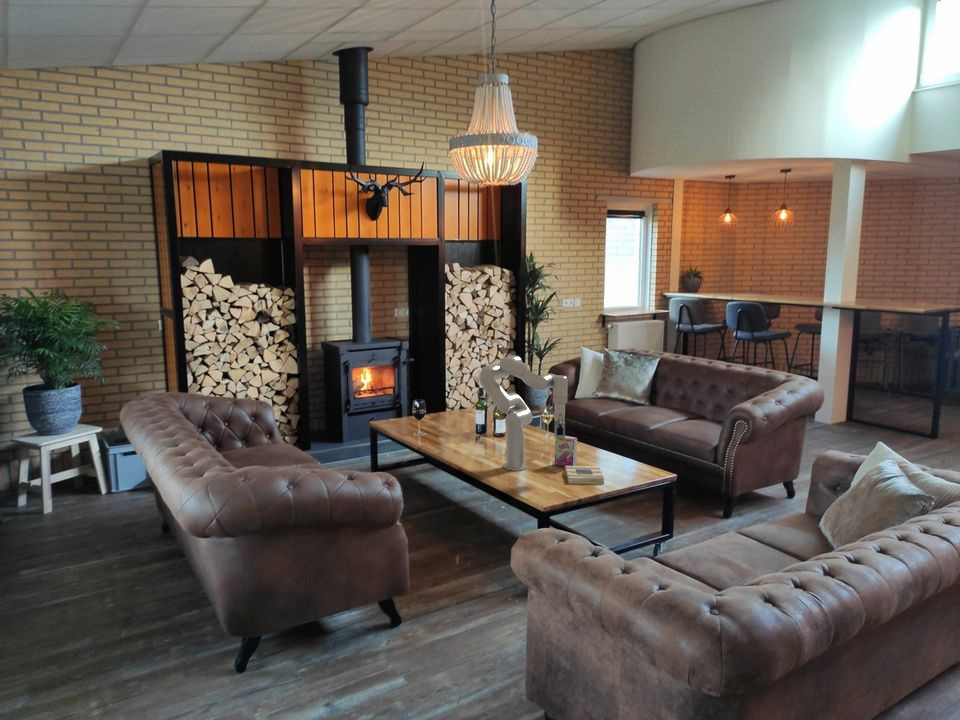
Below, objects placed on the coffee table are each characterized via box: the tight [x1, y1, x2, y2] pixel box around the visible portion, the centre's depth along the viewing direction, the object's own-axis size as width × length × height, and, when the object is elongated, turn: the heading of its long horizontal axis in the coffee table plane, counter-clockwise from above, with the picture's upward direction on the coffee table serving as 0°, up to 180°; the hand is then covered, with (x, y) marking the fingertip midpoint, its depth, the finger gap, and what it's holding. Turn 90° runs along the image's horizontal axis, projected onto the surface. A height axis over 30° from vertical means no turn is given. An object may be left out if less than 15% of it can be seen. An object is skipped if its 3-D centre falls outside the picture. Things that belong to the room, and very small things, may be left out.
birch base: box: [564, 465, 605, 485], centre depth 375 cm, size 20×18×3 cm
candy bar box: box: [554, 435, 578, 467], centre depth 394 cm, size 11×5×16 cm, turn 59°
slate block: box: [554, 420, 566, 439], centre depth 371 cm, size 5×5×8 cm
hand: (559, 433), depth 371 cm, fingers closed on slate block, 5 cm apart
